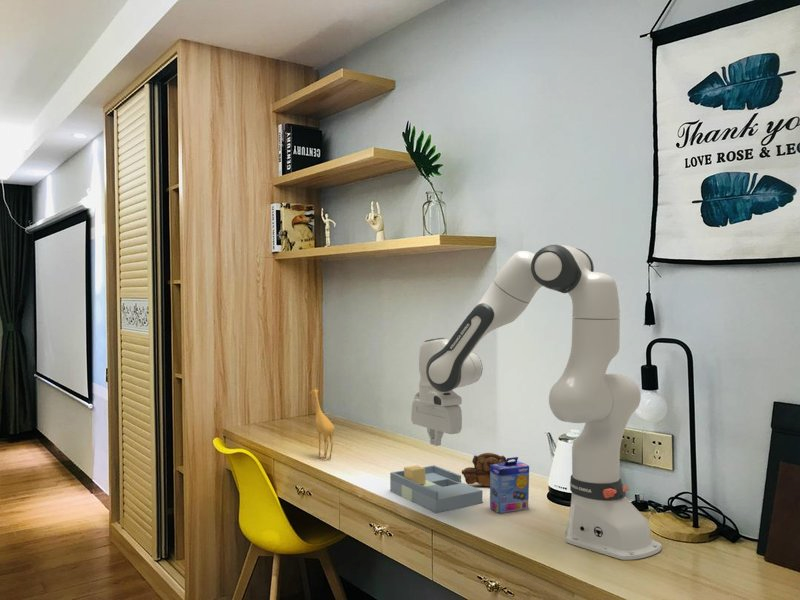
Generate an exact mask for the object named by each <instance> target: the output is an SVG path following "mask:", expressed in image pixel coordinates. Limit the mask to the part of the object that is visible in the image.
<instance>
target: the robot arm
mask: <svg viewBox="0 0 800 600" xmlns="http://www.w3.org/2000/svg"><path fill="white" fill-rule="evenodd" d="M594 270H595V269H594V263H593V260H592V258H591V257H590V255H589V254H588V253H586V252H585V251H584V250H582V249H580V248H575V247H573V246H571V245H566V244H565V245H564V244H549V245H546V246H544V247H541V249H539V250H538V251H537V252H536V253H534V252H531V251H528V250H518V251H516V252H515V253H513V255H511V256H510V257H509V259H508V260H507V261H506V262H505V263H504V264H503V266H502V267H501V268H500V270H499V271H498V272H497V273H496V275H495V277H494V279H493V280H492V282H491V283H490V285H489V286H488V288H487V289H486V291H485V292H484V294H483V295H482V297H481V298H480V299H479V301H478V302H477V304H476V305H475V307H474V308H472V309H471V311H470V313H469V314H468V315H467V316H466V318H465V319H464V320H463V321H462V322H461V324H460V326H459V327H458V328H457V329H456V331H455V332H454V334H453V335H452V337H451V338H450V339H448V338H445V337H439V338H437V337H436V338H431V339H427V340H424V341H423V342H422V343H421V345H420V348H419V355H418V357H419V358H418V371H419V372H418V373H419V374H420V375H419V376H420V380H419V385H418V386H419V387H418V391H419V392H416V394H415V395H414V396H413V401H412V404H411V414H410V415H411V416H410V417H411V420H410V421H411V422H412V424H413V425H417V426H420V427H424V428H426V430H427V431H426V432H427V434H428V438H429V443H430V445H433V446H436V447H438V446H439V447H440V446H441V445H442V439H443V435H444V434H448V435H457V434H459V433H461V431H462V427H463V426H462V425H463V413H462V409H461V408H462V407H461V406H460V405H462V404H463V403H462V402H463V400H462V397H461V396H460V395H459V394H458V393H456V392H455V391H454V390H455V389H458V388H462V387H466V386H470V385H472V384H475V383H476V382H478V381H479V380H480V378H481V377H482V374H483V369H484V368H483V363H482V360H481V358H480V356H478V354H477V353H475V352H474V349H475V348H476V347H477V346H478V344H479V342H480V341H481V340H482V339H483V338H484V337H485V336H486V335H488V334H489V333H491V332H492V331H494V330H496V329H498V328H501V327H503V326H505V325H509V324H511V323H513V322H514V321H516V320H517V319H518V318H519V316H521V315H522V313H524V312H525V310H526V309H527V307H528V306H529V304H530V302H531V301H532V299H533V298H534V296H535V295H536V294H537V292H538V290H539V289H540V288H542V287H544V288H546V289H549V290H551V291H555V292H559V293H560V294H568V296H569V297H570V298H571V304H572V312H571V313H572V319H571V320H572V322H571V323H572V327H571V345H570V346H571V347H570V353H569V357H568V359H567V363H566V366H565V368H564V371H563V373H562V375H561V376H560V378H559V379H558V380H557V382H555V383H554V384H553V386H552V387H551V388H550V390H549V395H548V404H549V408H550V411H551V412H552V414H553V415H554V417H555V418H556V419H558V420H559V421H561V422H566V423H571V424H584V426H583V429H582V431H581V433H580V434H579V435H578V436H577V437H576V438H575V440H574V441H573V443H572V446H571V466H572V467H571V469H572V470H571V471H572V474H571V475H570V481H569V487H570V488H569V489H570V491H571V499H570V507H569V508H570V509H569V514H568V515H569V516H568V522H567V526H566V530H565V535H566V537H565V542H566V543H568V544H570V545H574V546H577V547H580V548H583V549H586V550H590V551H593V552H596V553H600V554H602V555H606V556H608V557H611V558H612V557H613V558H615V559H618V560H622V561H623V560H624V561H626V560H627V561H628V560H629V561H630V560H639V559H644V558H648V557H651V556H654V555H655V554H658V553H659V552H660V551H662V548H663V547H662V543H661V542H659V541H657V540H655V539H653V538H652V537H651V529H650V524H649V520H647V518H646V517H645V516H644V515H643V514H642V513H641V512H640V511H639V509H637V507H635V505H633V503H632V502H631V501H630V500H629V499H628V497H626V496H627V493H626V492H627V491H630V489H629V488H630V485H625V486H624V484H623V481H622V478H620V466H621V464H620V461H621V445H622V440H623V437H624V433H625V430H626V427H627V424H628V422H629V420H630V418H631V416H632V415H633V413H634V412H635V411H636V410H637V409H638V408H639V406H640V403H641V396H642V395H641V390H640V387H639V386H638V385H639V384H638V383H637V382H636V381H635V380H634V379H633V378H631V377H630V376H628V375H623V374H617V373H606V372H607V370H608V367H609V365H610V363H611V361H612V360H613V359H614V358H615V357H616V356H617V355H618V353H619V351H620V342H621V338H620V334H621V333H620V332H621V331H620V329H621V326H620V325H621V323H620V322H621V321H620V320H621V319H620V318H621V315H620V314H621V313H620V312H621V311H620V300H619V293H618V287H617V283H616V280H615V279H614V278H613V277H612V276H611V275H608V274H607V273H604V272H600V271H599V272H598V271H594Z"/></svg>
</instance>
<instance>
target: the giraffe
mask: <svg viewBox="0 0 800 600" xmlns="http://www.w3.org/2000/svg"><path fill="white" fill-rule="evenodd" d="M318 392H319V389H318V387H316V388H315V387H314V388H313V389H312V390H310V391H309V394H311V395H313V396H314V402H315V427H316V431H317V434H318V457H320V458H321V434H322V437H323V442H324V455H323V458H324V456H325V458H324V459H326V460H327V457H328V449H329V440H330V453H329V457H328V459H329V458H330V459H332V452H333V447H334V442H333V438H334V433H335V429H336V428H335V426H334V424H333V423H332V421H331V420H330V419H329V418H328V417H327V416H326V415H325V414H324V413H323V410H322V409H321V407H320V401H319V395H318ZM328 438H329V439H328ZM324 459H323V460H324Z"/></svg>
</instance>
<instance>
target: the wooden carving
mask: <svg viewBox="0 0 800 600" xmlns="http://www.w3.org/2000/svg"><path fill="white" fill-rule="evenodd" d="M506 459H507V457H506V456H504V455H499V454H498V453H494V452H484V453H481V454H480V453H479V454H478V455H476V454H475V455H474V456H473V458H472V460H471V461H472V464H473V467H471V466H469V467H465V468H463V469H462V470H461V474H462V475H463V477H464V479H465V480H464V481H465V484H467V485H473V484H476V483H477V484H479V485H480V486H484V487H490V465H492V464H498V463H505V462H506Z"/></svg>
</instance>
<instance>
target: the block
mask: <svg viewBox="0 0 800 600" xmlns="http://www.w3.org/2000/svg"><path fill="white" fill-rule="evenodd" d="M423 467H424V466H420V465H418V464H417V465H411V466H405V467H403V470H404V477H405V478H407V479H409V480H412V481H414V482H416V483H418V484H426V483H425V468H423Z"/></svg>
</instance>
